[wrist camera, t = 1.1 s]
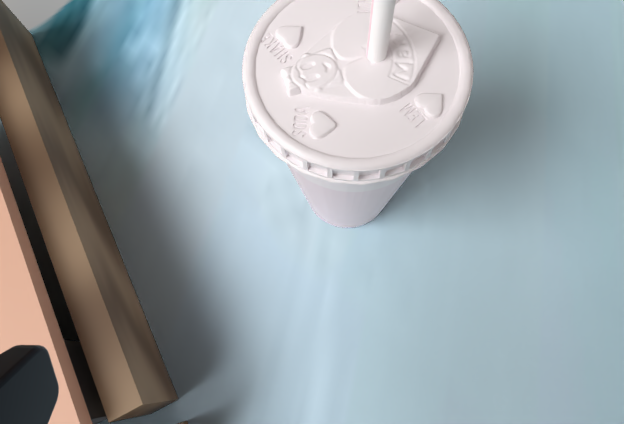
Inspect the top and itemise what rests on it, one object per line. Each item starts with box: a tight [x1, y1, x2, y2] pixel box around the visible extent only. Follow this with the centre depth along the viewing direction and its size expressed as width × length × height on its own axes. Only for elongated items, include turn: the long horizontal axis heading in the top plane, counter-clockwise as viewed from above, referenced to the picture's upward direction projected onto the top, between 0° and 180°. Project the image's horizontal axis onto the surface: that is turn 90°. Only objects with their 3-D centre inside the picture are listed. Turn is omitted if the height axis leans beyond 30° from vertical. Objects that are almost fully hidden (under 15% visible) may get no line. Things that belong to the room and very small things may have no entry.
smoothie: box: [242, 0, 473, 228], centre depth 16 cm, size 6×6×14 cm
